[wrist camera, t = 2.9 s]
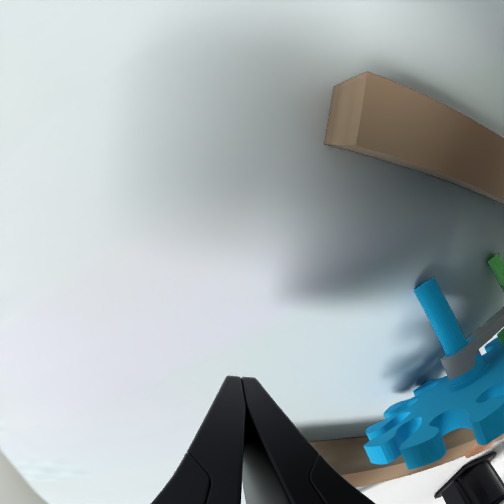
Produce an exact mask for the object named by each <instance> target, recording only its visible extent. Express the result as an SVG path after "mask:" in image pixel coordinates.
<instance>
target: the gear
mask: <svg viewBox="0 0 504 504" xmlns="http://www.w3.org/2000/svg"><path fill="white" fill-rule="evenodd" d="M488 263H489V265H490V267H491V269H492V270H493V272H494V274H495V276H496V278H497V280H498V282H499V283H500V285H501V287H502V289H503V291H504V262H503V260H502V258H501V256H500V255H499V253H498V254H497V255H495V256H494V257H493V258H492V259H490V260H489V261H488ZM414 292H415V294H416V296H417V298H418V300H419V301H420V303H421V305H422V307H423V309H424V311H425V313H426V315H427V317H428V319H429V321H430V323H431V325H432V327H433V329H434V331H435V333H436V335H437V337H438V339H439V341H440V343H441V345H442V347H443V349H444V351H445V355H444V356H443V357H442V358H441V359H440V360H441V362H442V365H443V367H444V369H445V371H446V374H447V376H445V377H442V378H439V379H431V380H429V381H427V382H425V383H424V384H422V385H421V386H419V387H418V388H417V389H415V390H414V391H413V392H414V395H415V397H413V398H411V399H408V400H405V401H401V402H399V403H396V404H394V405H392V406H390V407H389V408H388V409H387V410H386V411H385V412H384V416H385V418H386V419H385V420H383V421H380V422H378V423H375V424H373V425H371V426H369V427H368V428H366V434H367V436H368V438H369V442H367V443H366V444H365V445H364V448H365V450H366V453H367V455H368V457H369V459H370V462H371V463H374V464H388V463H390V462H392V461H394V460H395V459H397V458H398V457H399V456H400V455H401V454H402V456H403V458H404V461H405V463H406V466H407V468H408V470H411V469H415V468H419V467H422V466H426V465H428V464H431V463H434V462H436V461H438V460H440V459H441V458H442V457H443V456H444V455H445V454H446V451H447V449H446V446H445V444H444V441H443V438H442V436H444V435H445V434H447V433H448V432H450V431H452V430H455V429H458V428H468V429H473V432H474V435H475V438H476V441H477V444H479V445H487V444H489V443H490V442H492V441H493V440H495V439H496V438H498V437H499V436H500V435H502V434H503V433H504V329H502V328H503V327H504V307H503V308H502V309H501V310H500V311H499V312H497V313H496V314H495V315H494V316H493V317H492V318H491V319H489V320H488V321H487V322H486V323H485V324H484V325H482V326H481V327H480V328H479V329H478V330H476V331H475V332H474V333H473V334H471V335H470V336H469V337H468V338H465V336H464V334H463V332H462V330H461V328H460V326H459V324H458V322H457V320H456V318H455V316H454V314H453V312H452V310H451V308H450V306H449V304H448V302H447V300H446V298H445V297H444V295H443V293H442V291H441V289H440V287H439V286H438V284H437V282H436V280H435V278H434V277H433V278H431V279H429V280H428V281H426V282H425V283H423V284H422V285H420V286H419V287H417V288H416V289H415V290H414ZM501 329H502V330H501ZM499 330H501V331H500V332H499V333H498V334H497V336H498V337H497V338H496V339H494V340H493V341H491V342H490V343H488V344H487V345H486V346H485V350H486V352H487V353H486V354H484V355H482V356H481V354H480V352H479V348H480V347H482V346H483V345H484V344H485V343H486V342H487V341H488V340H490V339H491V338H492V337H493V336H494V335H495V334H496V333H497V332H498V331H499Z"/></svg>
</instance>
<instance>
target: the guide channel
mask: <svg viewBox="0 0 504 504" xmlns="http://www.w3.org/2000/svg"><path fill="white" fill-rule="evenodd" d="M324 144H325V145H330V146H334V147H338V148H342V149H346V150H349V151H353V152H357V153H361V154H364V155H368V156H371V157H375V158H378V159H382V160H385V161H388V162H392V163H395V164H398V165H401V166H404V167H408V168H411V169H414V170H417V171H420V172H423V173H425V174H428V175H431V176H434V177H437V178H440V179H442V180H445V181H448V182H450V183H453V184H456V185H458V186H461V187H463V188H466V189H469V190H471V191H473V192H476V193H478V194H481V195H483V196H486V197H488V198H490V199H492V200H495V201H497V202H499V203H502V204H504V139H503V138H502V137H500V136H499V135H497V134H495V133H494V132H492V131H491V130H489V129H487V128H486V127H484V126H482V125H481V124H479V123H477V122H476V121H474V120H472V119H470V118H469V117H467V116H465V115H463V114H461V113H460V112H458V111H456V110H454V109H452V108H450V107H448V106H446V105H444V104H442V103H440V102H438V101H436V100H434V99H432V98H430V97H428V96H426V95H424V94H421V93H419V92H417V91H415V90H413V89H410V88H408V87H406V86H403V85H401V84H398V83H396V82H394V81H391V80H389V79H386V78H383V77H381V76H378V75H375V74H373V73H370V72H365V73H363V74H360V75H358V76H356V77H354V78H351V79H349V80H347V81H345V82H343V83H340V84H338V85H336V86H334V90H333V96H332V102H331V108H330V114H329V120H328V126H327V131H326V137H325V143H324ZM442 438H443V441H444V444H445V446H446V449H447V451H446V454H445V455H444V456H443V457H442V458H441V459H440V460H438V461H436V462H434V463H431V464H428V465H426V466H422V467H419V468H415V469H411V470H408V468H407V466H406V463H405V461H404V458H403V456H402V454H401V455H400V456H399V457H398V458H397V459H395V460H394V461H392V462H390V463H388V464H374V463H371V462H370V459H369V457H368V455H367V453H366V450H365V448H364V445H365V444H366V443H367V442H369V438H368V436H364V437H356V438H347V439H338V440H326V441H312V442H310V443H311V445H312V446H313V447H314V448H315V449H316V450H317V451H318V452H319V455H321V456H322V457H323V458H324V459H325V460H326V461H327V462H328V463H329V464H330V465H331V466H332V467H333V468H334V469H335V470H336V471H337V472H338V473H339V474H340V475H341V476H342V477H343V478H344V479H345V480H347V481H348V482H349V483H350V484H351V485H352V486H354V487H355V488H356V487H361V486H366V485H371V484H376V483H380V482H384V481H388V480H392V479H396V478H400V477H404V476H407V475H411V474H414V473H417V472H421V471H424V470H427V469H430V468H433V467H436V466H439V465H442V464H444V463H447V462H450V461H452V460H455V459H458V458H460V457H463V456H466V458H469V457H471V456H474V455H476V454H478V453H480V452H483V451H485V450H487V449H489V448H490V447H491V446H492V445H493V444H494V442H496V441H498V440H500V439H502V438H504V433H503V434H502V435H500V436H499V437H498V438H496V439H495V440H493V441H492V442H490V443H489V444H487V445H479V444H477V441H476V438H475V435H474V432H473V429H468V428H458V429H455V430H452V431H450V432H448V433H447V434H445V435H444V436H442Z"/></svg>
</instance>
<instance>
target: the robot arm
mask: <svg viewBox="0 0 504 504" xmlns="http://www.w3.org/2000/svg"><path fill="white" fill-rule="evenodd" d="M496 455H497V453H496V452H493V453H491V454H489V455H487V456H485V457H483V458H481V459H479V460H477V461H475V462H473V463H470V464H468V465H466V466H465V467H463V468H462V469H461V470H460V471H459V472H458V473H457V474H456V475H455V476H454V477H453V478H452V479H451V480H450V481H449V482H448V483H447V484H446V485H445V486H444V487H443V488H442V489H441V490H440V491H439V492H437V493H436V494H435V495H434V497H435V499H436V498H438V497H441V496H443V498H444V500H445V502H446V504H503V503H504V483H503V481H502V480H501V478H500V477H499V475H498V474H497V472H496V471H495V469H494V468H493V466H492V465H491V463H490V462H491V460H492V459H493V458H494V457H495V456H496ZM242 482H243V488H244V494H245V499H246V504H375V503H374V502H373V501H371V500H370V499H369V498H367V497H366V496H365V495H364V494H362V493H361V492H360V491H359V490H357V489H356V488H355V487H354V486H352V485H351V484H350V483H349V482H348V481H347V480H345V479H344V478H343V477H342V476H341V475H340V474H339V473H338V472H337V471H336V470H335V469H334V468H333V467H332V466H331V465H330V464H329V463H328V462H327V461H326V460H325V459H324V458H323V457H322V456H321V455H319V452H318V451H317V450H316V449H315V448H314V447H313V446H312V445H311V443H310V442H309V441H308V440H307V439H306V438H305V437H304V435H303V434H302V433H301V432H300V431H299V430H298V429H297V427H296V426H295V425H294V424H293V423H292V422H291V420H290V419H289V418H288V417H287V416H286V414H285V413H284V412H283V411H282V410H281V409H280V407H279V406H278V405H277V404H276V402H275V401H274V400H273V399H272V398H271V396H270V395H269V394H268V393H267V391H266V390H265V389H264V388H263V387H262V385H261V384H260V383H259V382H258V380H257V379H256V378H253V377H242V378H240V377H239V376H227V377H226V378H225V380H224V382H223V384H222V386H221V388H220V390H219V392H218V394H217V396H216V398H215V400H214V401H213V403H212V405H211V407H210V409H209V411H208V413H207V415H206V417H205V419H204V421H203V423H202V424H201V426H200V428H199V430H198V432H197V434H196V436H195V438H194V440H193V441H192V443H191V445H190V447H189V449H188V451H187V453H186V454H185V456H184V458H183V460H182V461H181V463H180V465H179V466H178V468H177V470H176V471H175V473H174V475H173V476H172V478H171V479H170V480H169V482H168V483H167V484H166V486H165V487H164V488H163V490H162V491H161V492H160V493H159V495H158V496H157V497H156V498H155V499H154V501H153V502H152V503H151V504H241V489H242Z"/></svg>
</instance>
